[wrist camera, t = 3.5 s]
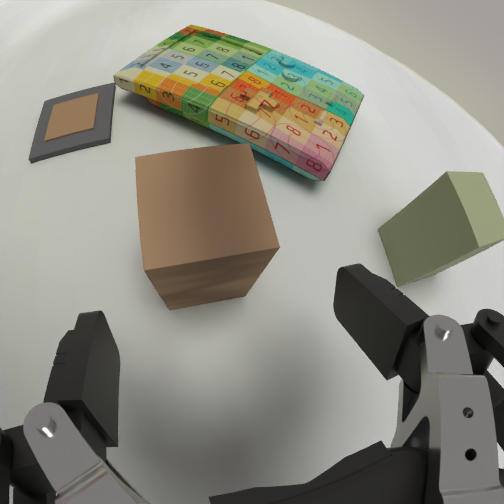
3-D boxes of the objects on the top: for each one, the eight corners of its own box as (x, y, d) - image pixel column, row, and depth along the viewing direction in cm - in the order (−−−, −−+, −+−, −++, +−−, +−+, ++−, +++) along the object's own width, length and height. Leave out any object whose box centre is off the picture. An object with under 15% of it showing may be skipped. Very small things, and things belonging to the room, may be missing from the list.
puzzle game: (335, 163, 19) (111, 67, 19) (312, 197, 23) (119, 104, 24) (368, 88, 23) (191, 18, 24) (349, 119, 28) (189, 50, 28)
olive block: (397, 286, 22) (479, 247, 13) (377, 229, 23) (446, 171, 15) (435, 274, 23) (510, 236, 14) (417, 222, 24) (482, 172, 16)
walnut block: (169, 310, 18) (143, 270, 10) (158, 238, 20) (135, 157, 11) (245, 295, 19) (279, 247, 11) (229, 226, 21) (249, 142, 13)
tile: (31, 162, 20) (27, 157, 19) (46, 105, 22) (44, 99, 22) (110, 142, 22) (108, 136, 21) (115, 86, 24) (114, 81, 23)
